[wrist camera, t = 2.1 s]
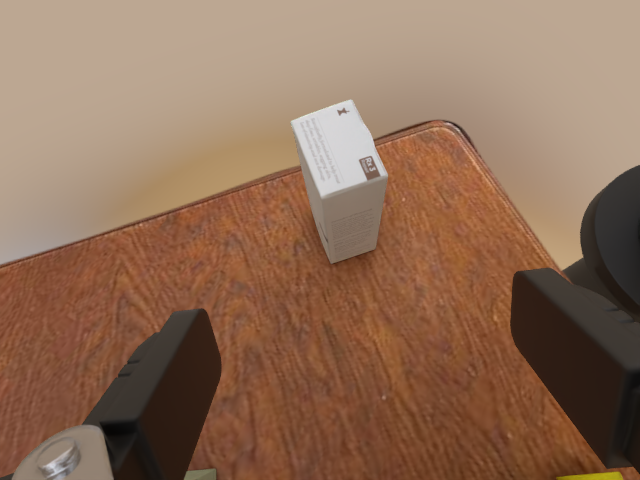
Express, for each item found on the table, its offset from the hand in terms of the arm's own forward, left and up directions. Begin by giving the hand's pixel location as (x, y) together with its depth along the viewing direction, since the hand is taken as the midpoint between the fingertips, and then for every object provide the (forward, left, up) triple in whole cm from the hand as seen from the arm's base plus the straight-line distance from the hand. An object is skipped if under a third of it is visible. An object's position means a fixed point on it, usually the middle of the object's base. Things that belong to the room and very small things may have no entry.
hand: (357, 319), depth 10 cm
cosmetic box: (0, -12, -20) cm, 23 cm away
